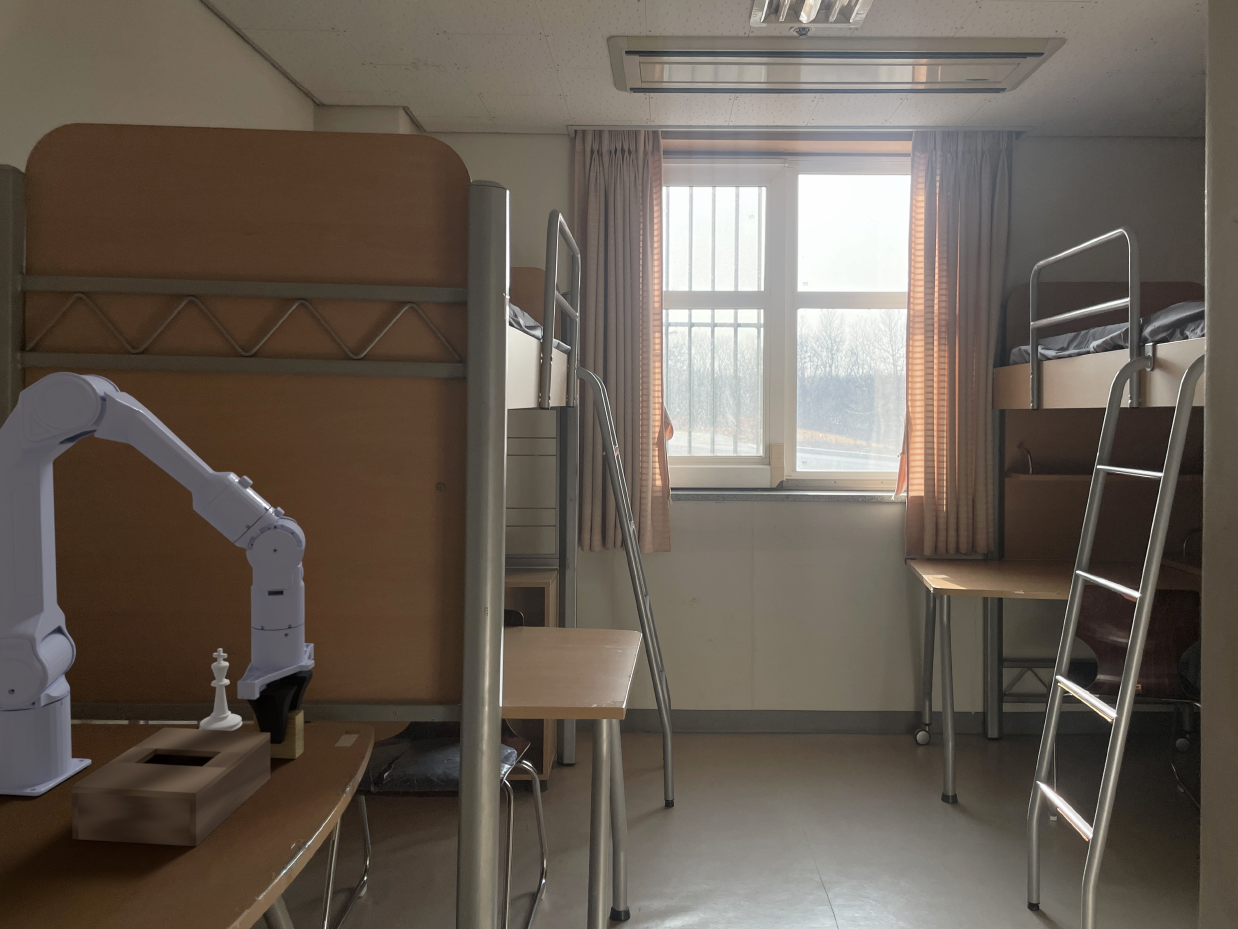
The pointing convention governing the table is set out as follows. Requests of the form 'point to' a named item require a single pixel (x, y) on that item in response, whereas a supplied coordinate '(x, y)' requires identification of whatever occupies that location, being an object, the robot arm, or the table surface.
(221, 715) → the chess piece
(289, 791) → the table surface
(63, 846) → the table surface
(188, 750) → the beige block with hole
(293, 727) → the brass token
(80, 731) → the table surface
